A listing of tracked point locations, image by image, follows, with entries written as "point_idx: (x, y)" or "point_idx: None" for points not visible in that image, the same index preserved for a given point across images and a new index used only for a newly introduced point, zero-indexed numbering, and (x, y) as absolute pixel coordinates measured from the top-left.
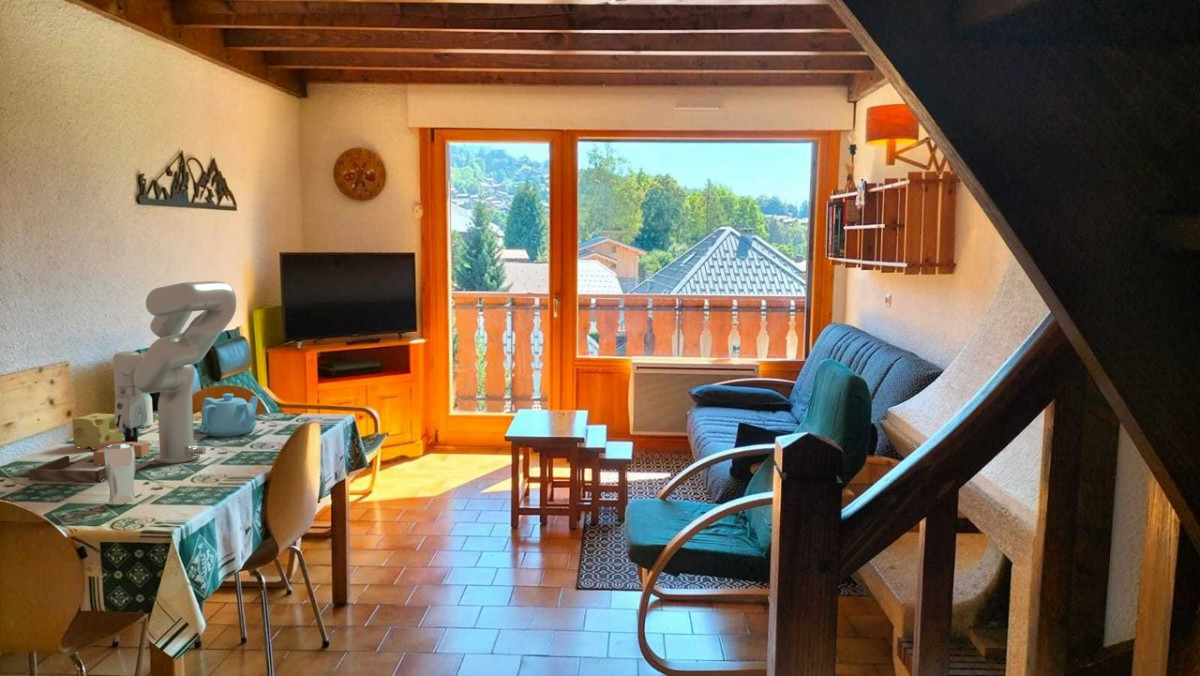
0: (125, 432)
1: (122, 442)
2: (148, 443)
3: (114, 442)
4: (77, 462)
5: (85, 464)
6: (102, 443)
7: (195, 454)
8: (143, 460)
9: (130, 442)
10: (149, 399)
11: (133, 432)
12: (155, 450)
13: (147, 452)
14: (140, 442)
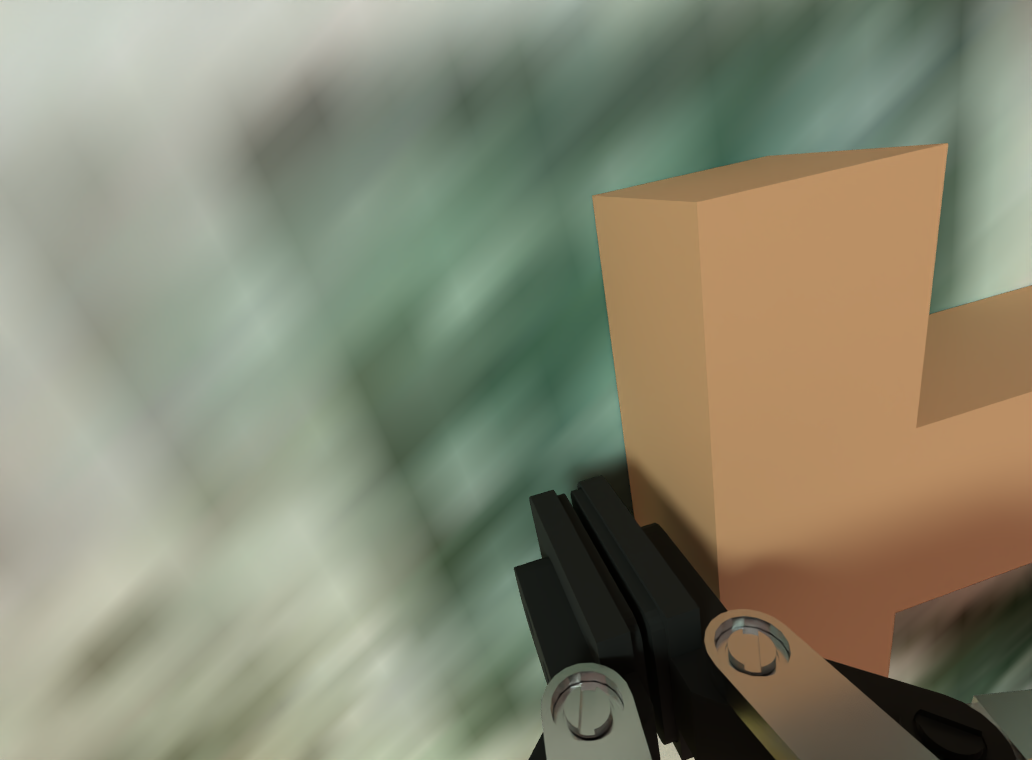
0: (988, 702)
1: (766, 610)
2: (696, 197)
3: None
4: (942, 607)
5: None
6: None
7: None
8: (875, 23)
9: (749, 515)
10: None
11: (757, 690)
12: (344, 317)
13: (654, 187)
14: (726, 362)
